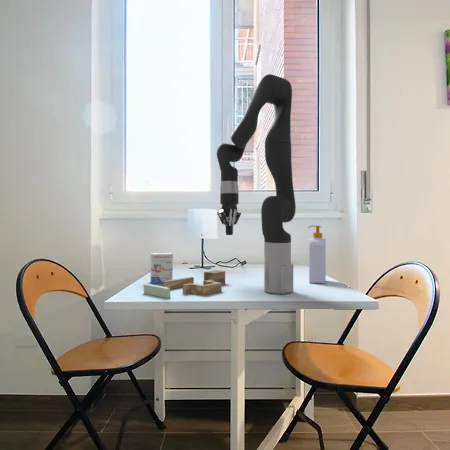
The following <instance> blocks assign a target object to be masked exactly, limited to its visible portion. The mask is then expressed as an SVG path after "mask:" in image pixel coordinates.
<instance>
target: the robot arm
mask: <svg viewBox="0 0 450 450" xmlns="http://www.w3.org/2000/svg"><path fill="white" fill-rule="evenodd" d="M292 87H293V86H292V84H291V81H289V80H288V79H286V78H284V77H280V76H277V75H274V74H270V73H269V74H266V75H264V76H263V77H262V78H261V79H260V81H259V83H258V84H257V87H256V88H255V91H254V93H253V94H252V95H253V96H252V97H251V100H250V101H249V104H248V106H247V108H246V109H245V112H244V114H243V117H242V118H241V120H240V121H239V123H238V124H237V126H236V127H235V129H234V130H233V132H232V133H231V135H230V141H231V142H232V143H233V144H231V143H227V142H226V143H224V142H222V143H220V144H219V145H218V147H217V150H216V159H217V161H218V166H219V169H220V189H219V191H220V192H219V193H220V195H219V196H220V198H219V199H220V200H219V201H220V203H219V204H220V205H221V208H220V210H219V211H217V216H218V219H219V220H220V222H221V224H222V225H224V226H225V235H226V236H233V234H234V226H235V225H237V224H238V222H239V220H240V217H241V214H242V212H240V211H238V207H237V205H238V204H239V195H240V193H239V171H238V169H237V168H236V167H235V166H232V164H231V163H237V162H239V161H240V160H241V159H242V158H243V154H244V153H245V149H246V148H247V147H246V146H247V144H248V143H249V141H250V140H251V139H252V138H253V136H254V135H255V133H256V131H257V128H258V122H259V119H258V118H259V115H260V114H259V113H260V112H261V110H262V108H263V107H264V106H265V104H270V105H273V108H274V112H273V113H274V117H273V123H272V124H271V127H270V129H269V130H268V133H267V135H266V137H265V140H264V157H265V164H266V166H267V169H268V170H269V172H270V174H271V177H272V179H273V181H274V185H275V194H276V195H270V196H269V195H268V196H267V197H265V199H264V200H263V202H262V205H261V209H260V211H261V212H260V213H261V215H260V216H261V231H262V233H261V234H262V235H263V238H264V240H263V241H264V242H263V243H264V245H263V246H264V248H263V256H264V258H263V259H264V261H263V263H264V265H263V266H264V269H263V270H264V271H263V275H264V277H263V278H264V279H263V283H264V284H263V285H264V286H263V290H264V292H265V293H268V294H277V295H278V294H279V295H280V294H282V295H286V294H289V293H293V292H294V264H293V263H292V236H291V234H290V233H289V232H287V231H286V230H285V229H284V224H285V223H289V222H291V221H293V219H295V218H294V217H295V215H296V211H297V210H296V209H297V208H296V205H297V204H296V199H295V197H296V196H295V191H294V184H293V183H294V182H293V164H292V139H291V138H292V136H291V132H292V131H291V121H292V120H291V115H292V114H291V113H292V104H293V103H292V100H293V99H292V98H293V88H292ZM283 223H284V224H283Z"/></svg>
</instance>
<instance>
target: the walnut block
mask: <svg viewBox="0 0 450 450" xmlns="http://www.w3.org/2000/svg"><path fill="white" fill-rule="evenodd" d="M206 280H214V282H220V283H222V285H225V284H226V270H225V271H224V270H219V269H218V270H217V269H214V270H208V271H203V281H206Z"/></svg>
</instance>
